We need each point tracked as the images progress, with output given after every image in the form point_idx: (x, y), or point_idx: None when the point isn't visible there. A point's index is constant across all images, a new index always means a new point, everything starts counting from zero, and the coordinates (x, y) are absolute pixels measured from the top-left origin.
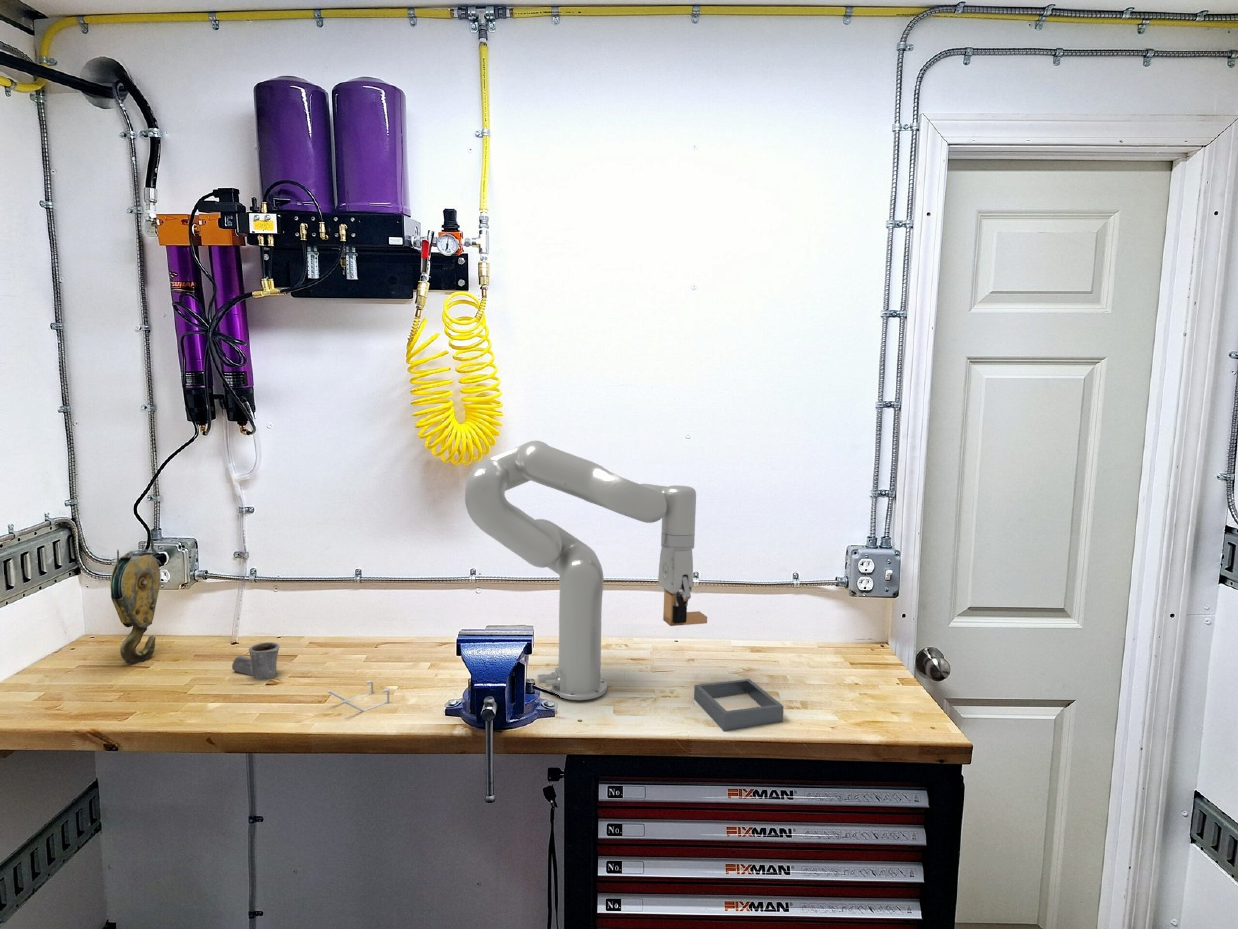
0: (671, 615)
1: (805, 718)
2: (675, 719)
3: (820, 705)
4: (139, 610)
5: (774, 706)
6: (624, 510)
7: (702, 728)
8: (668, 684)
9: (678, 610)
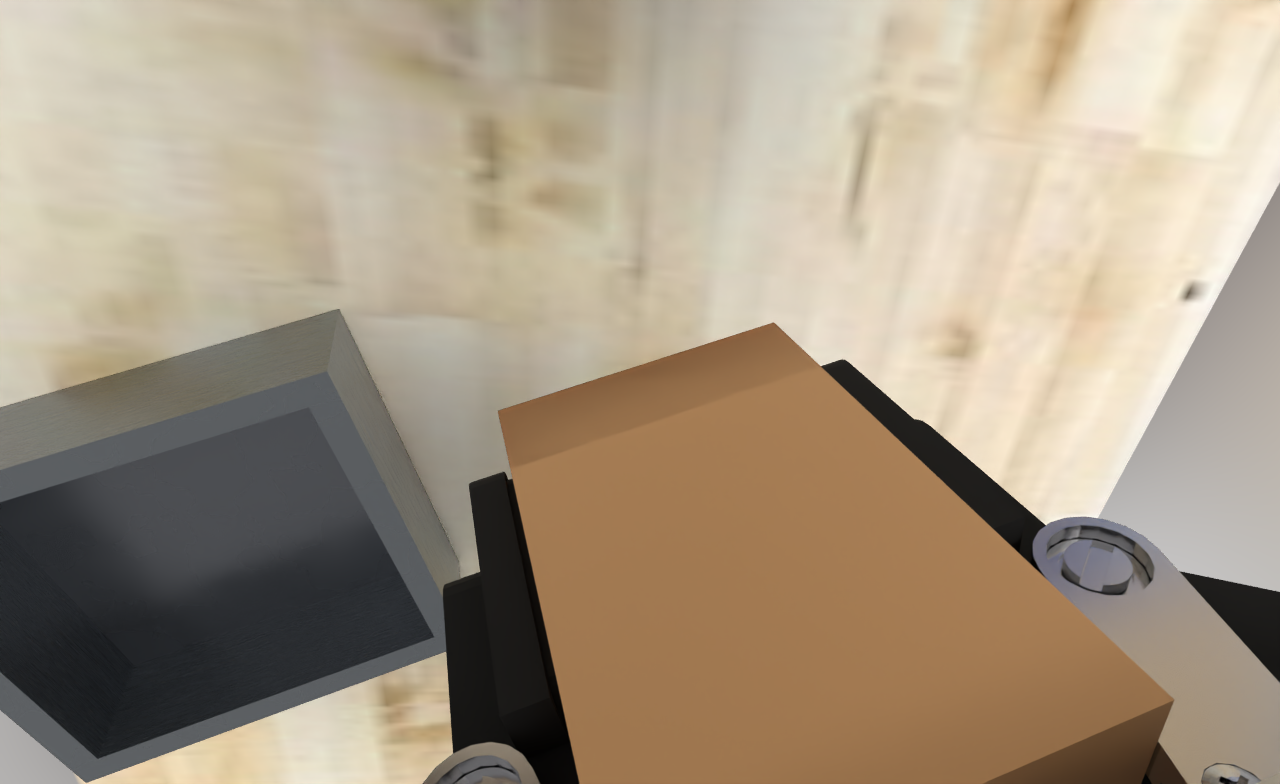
0: (526, 524)
1: (282, 741)
2: (103, 174)
3: (426, 775)
4: None
5: (64, 752)
6: None
7: (3, 332)
8: (669, 191)
9: (454, 721)
